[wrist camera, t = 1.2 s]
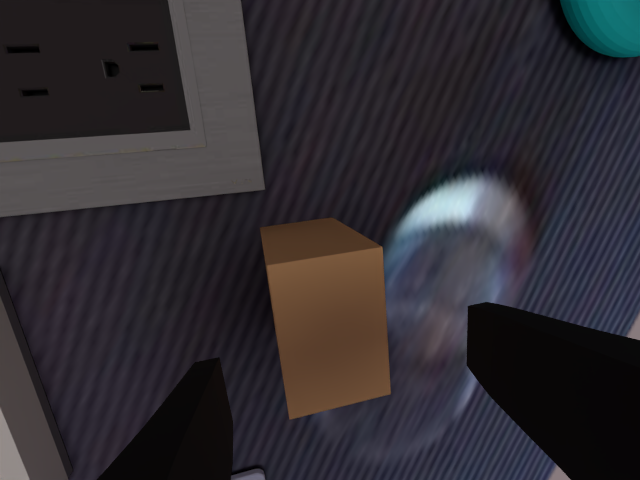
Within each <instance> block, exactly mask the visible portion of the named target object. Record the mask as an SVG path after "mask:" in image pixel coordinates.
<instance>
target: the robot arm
mask: <svg viewBox="0 0 640 480" xmlns="http://www.w3.org/2000/svg"><path fill="white" fill-rule="evenodd" d="M467 366H468V368H469V369H470V370H471V372H472V373H473V375H474V376H475V377H476V379H477V380H478V381H479V383H480V384H481V385H482V386H483V388H484V389H485V390H486V392H487V393H488V394H489V395H490V396H491V398H492V399H493V400H494V401H495V402H496V403H497V404H498V405H499V406H500V407H501V408H502V409H503V410H504V411H505V412H506V413H507V414H508V415H509V416H510V417H511V418H512V420H513V421H514V422H515V423H516V424H517V425H518V426H519V427H520V428H521V429H522V430H523V431H524V432H525V433H526V434H527V435H528V436H529V437H530V438H531V439H532V440H533V441H534V442H535V443H536V444H537V445H538V446H539V447H540V448H541V449H542V450H543V451H544V452H545V453H546V454H547V455H548V456H549V457H550V458H551V459H552V460H553V461H554V462H555V463H556V464H557V465H558V466H559V467H560V468H561V469H562V470H563V472H564V473H566V475H567V476H568V477H569V478H570V479H571V480H640V340H636V339H632V338H628V337H624V336H620V335H615V334H611V333H607V332H603V331H599V330H595V329H591V328H587V327H583V326H580V325H576V324H572V323H568V322H565V321H561V320H557V319H554V318H550V317H546V316H543V315H539V314H535V313H532V312H528V311H524V310H520V309H516V308H512V307H508V306H504V305H499V304H494V303H489V302H485V303H480V304H475V305H470V306H468V330H467ZM232 464H233V420H232V415H231V410H230V406H229V401H228V396H227V392H226V387H225V382H224V377H223V373H222V368H221V363H220V359H219V358H214V359H209V360H204V361H199V362H195V363H194V364H193V365H192V367H191V368H190V369H189V370H188V372H187V373H186V374H185V375H184V377H183V378H182V379H181V380H180V382H179V383H178V384H177V386H176V387H175V388H174V389H173V391H172V392H171V393H170V395H169V396H168V397H167V398H166V400H165V401H164V402H163V404H162V405H161V406H160V407H159V408H158V410H157V411H156V412H155V413H154V415H153V416H152V417H151V418H150V420H149V421H148V422H147V423H146V425H145V426H144V427H143V428H142V429H141V431H140V432H139V433H138V434H137V435H136V436H135V437H134V439H133V440H132V441H131V442H130V443H129V444H128V445H127V446H126V448H125V449H124V450H123V451H122V452H121V453H120V454H119V456H118V457H117V458H116V459H115V460H114V461H113V462H112V464H111V465H110V466H109V467H108V468H107V469H106V470H105V471H104V472H103V474H102V475H101V476H100V477H99V478H98V479H97V480H265V474H264V471H263V470H261V469H253V470H249V471H246V472H242V473H239V474H235V475H231V474H232Z"/></svg>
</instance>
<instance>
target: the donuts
mask: <svg viewBox="0 0 640 480" xmlns="http://www.w3.org/2000/svg"><path fill="white" fill-rule="evenodd" d="M560 3H561V6H562V10H563V13H564V15H565V17H566V20H567V22H568V24H569V25H570V27H571V29H572V30H573V31H574V33H575V34H576V35H577V37H578V38H579V39H580V40H581V41H582V42H583V43H584V44H585V45H587V46H588V47H589V48H591V49H593V50H594V51H596V52H598V53H601V54H604V55H608V56H612V57H621V58H623V57H637V56H640V0H560Z"/></svg>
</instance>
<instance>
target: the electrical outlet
mask: <svg viewBox="0 0 640 480" xmlns="http://www.w3.org/2000/svg"><path fill="white" fill-rule="evenodd" d="M259 190H265V185H264V177H263V169H262V161H261V154H260V146H259V138H258V130H257V122H256V115H255V107H254V99H253V91H252V83H251V76H250V68H249V60H248V52H247V44H246V36H245V29H244V21H243V13H242V5H241V0H0V217H6V216H16V215H25V214H35V213H45V212H54V211H64V210H74V209H84V208H93V207H103V206H113V205H122V204H132V203H142V202H152V201H161V200H171V199H181V198H191V197H200V196H210V195H220V194H229V193H239V192H249V191H259Z"/></svg>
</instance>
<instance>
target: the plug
mask: <svg viewBox="0 0 640 480" xmlns="http://www.w3.org/2000/svg"><path fill="white" fill-rule="evenodd" d="M260 232H261V238H262V245H263V252H264V258H265V265H266V272H267V278H268V285H269V292H270V298H271V305H272V312H273V318H274V325H275V331H276V338H277V344H278V350H279V356H280V363H281V369H282V375H283V381H284V387H285V394H286V400H287V406H288V412H289V419H294V418H298V417H302V416H306V415H310V414H314V413H318V412H322V411H326V410H330V409H334V408H338V407H342V406H345V405H349V404H353V403H357V402H361V401H365V400H369V399H373V398H377V397H381V396H385V395H389V394H391V390H390V372H389V355H388V337H387V319H386V301H385V283H384V265H383V247H382V246H380V245H378V244H377V243H375V242H373V241H372V240H370V239H368V238H366V237H365V236H363V235H361V234H360V233H358V232H356V231H355V230H353V229H351V228H349V227H348V226H346V225H344V224H343V223H341V222H339V221H337V220H336V219H334V218H324V219H317V220H310V221H303V222H296V223H289V224H281V225H274V226H267V227H260Z"/></svg>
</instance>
